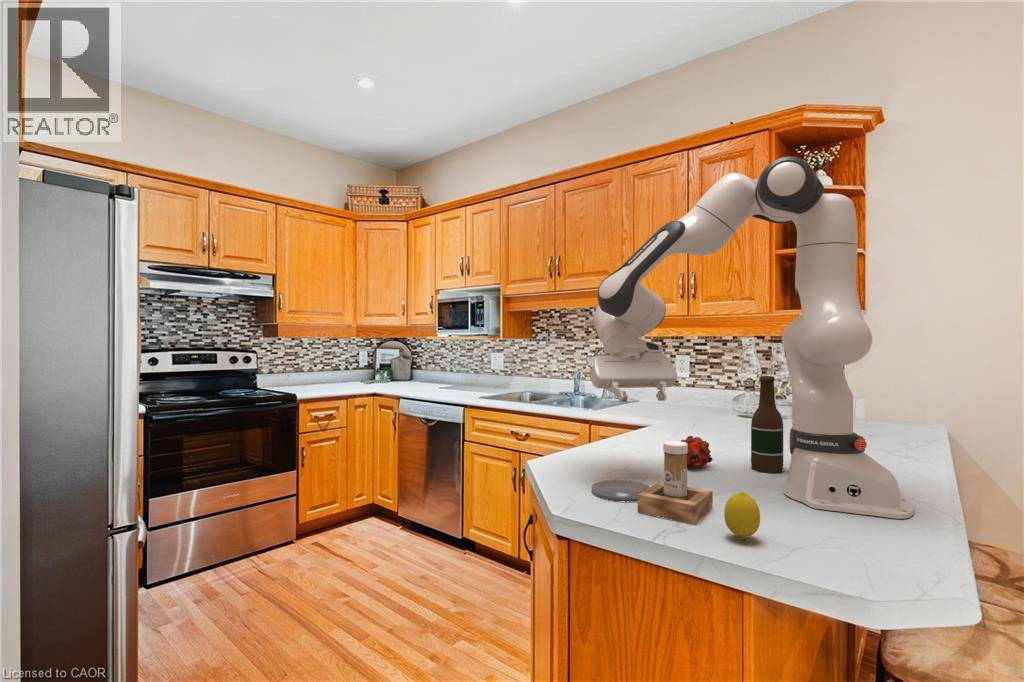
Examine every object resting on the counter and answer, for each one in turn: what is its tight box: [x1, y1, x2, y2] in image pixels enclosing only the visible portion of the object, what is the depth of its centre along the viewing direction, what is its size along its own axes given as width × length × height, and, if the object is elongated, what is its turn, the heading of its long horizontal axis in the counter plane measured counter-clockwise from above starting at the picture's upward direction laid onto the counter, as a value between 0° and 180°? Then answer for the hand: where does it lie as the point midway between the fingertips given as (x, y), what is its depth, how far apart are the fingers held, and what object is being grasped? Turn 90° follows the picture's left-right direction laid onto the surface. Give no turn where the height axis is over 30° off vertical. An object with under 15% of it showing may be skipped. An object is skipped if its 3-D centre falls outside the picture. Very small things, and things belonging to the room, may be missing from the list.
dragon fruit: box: [680, 435, 713, 470], centre depth 136 cm, size 8×8×12 cm
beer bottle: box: [750, 375, 784, 474], centre depth 132 cm, size 8×8×24 cm
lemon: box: [723, 491, 761, 540], centre depth 87 cm, size 6×6×8 cm
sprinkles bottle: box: [662, 440, 688, 501], centre depth 102 cm, size 5×5×14 cm
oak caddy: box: [637, 481, 714, 525], centre depth 102 cm, size 11×11×4 cm
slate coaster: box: [591, 479, 650, 503], centre depth 113 cm, size 13×13×1 cm
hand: (643, 399), depth 115 cm, fingers open, 8 cm apart
